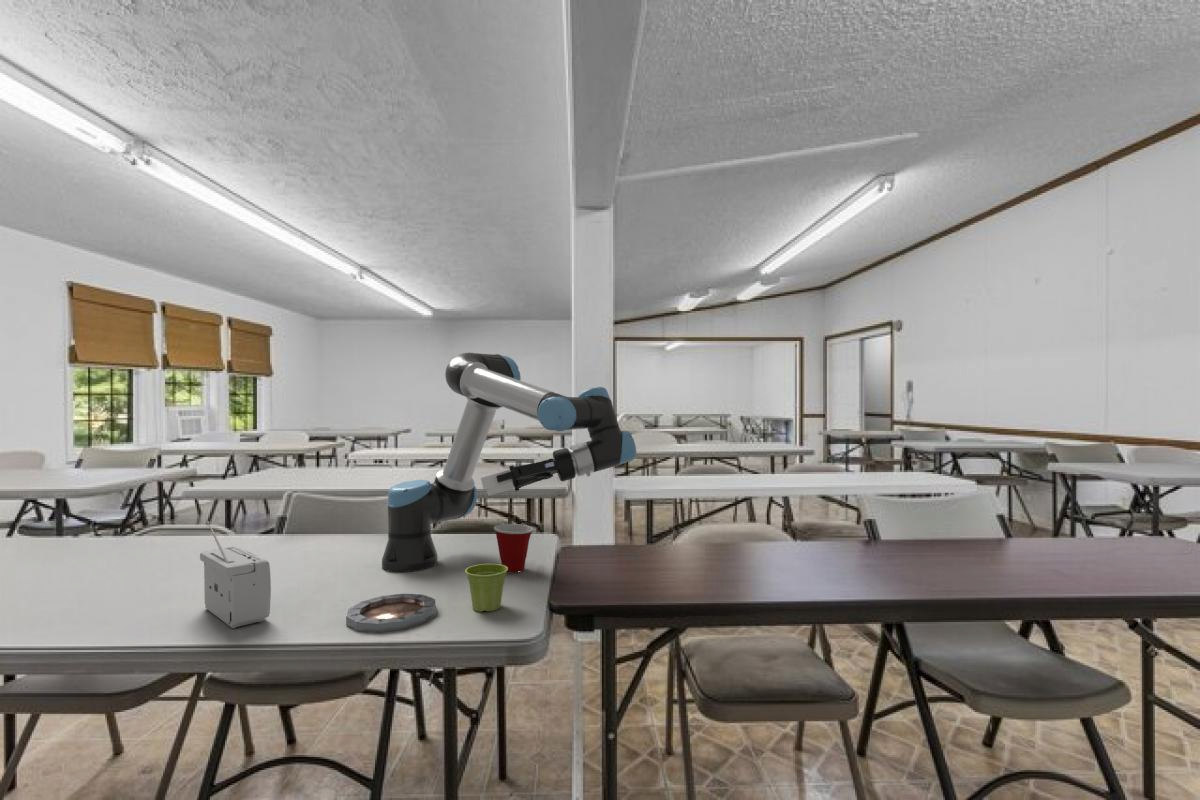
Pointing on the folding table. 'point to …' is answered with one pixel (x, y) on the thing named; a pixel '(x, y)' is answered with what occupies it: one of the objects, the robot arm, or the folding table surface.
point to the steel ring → (391, 613)
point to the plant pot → (486, 585)
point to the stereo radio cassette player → (236, 585)
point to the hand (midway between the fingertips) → (484, 487)
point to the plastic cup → (513, 545)
